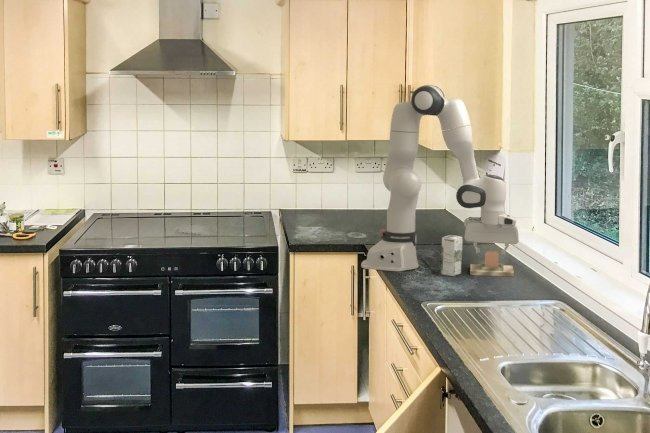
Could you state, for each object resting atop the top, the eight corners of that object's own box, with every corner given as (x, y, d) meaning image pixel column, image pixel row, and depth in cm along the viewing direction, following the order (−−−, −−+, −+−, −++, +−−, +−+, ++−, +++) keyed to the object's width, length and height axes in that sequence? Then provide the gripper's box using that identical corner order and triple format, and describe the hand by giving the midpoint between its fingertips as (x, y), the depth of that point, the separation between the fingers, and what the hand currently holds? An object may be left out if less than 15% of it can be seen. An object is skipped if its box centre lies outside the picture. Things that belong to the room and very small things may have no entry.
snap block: (484, 269, 332) (485, 253, 331) (484, 266, 337) (485, 251, 336) (498, 269, 331) (498, 254, 330) (498, 267, 336) (498, 251, 335)
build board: (470, 274, 330) (470, 268, 329) (470, 267, 342) (470, 261, 341) (513, 276, 327) (513, 270, 327) (512, 269, 339) (512, 263, 338)
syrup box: (448, 271, 335) (449, 234, 333) (461, 274, 331) (462, 236, 329) (440, 274, 331) (441, 236, 328) (454, 276, 327) (454, 238, 325)
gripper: (464, 218, 330) (462, 254, 332) (519, 220, 326) (517, 257, 328) (464, 215, 336) (463, 250, 338) (519, 218, 332) (517, 254, 334)
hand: (490, 254), depth 333 cm, fingers open, 8 cm apart
